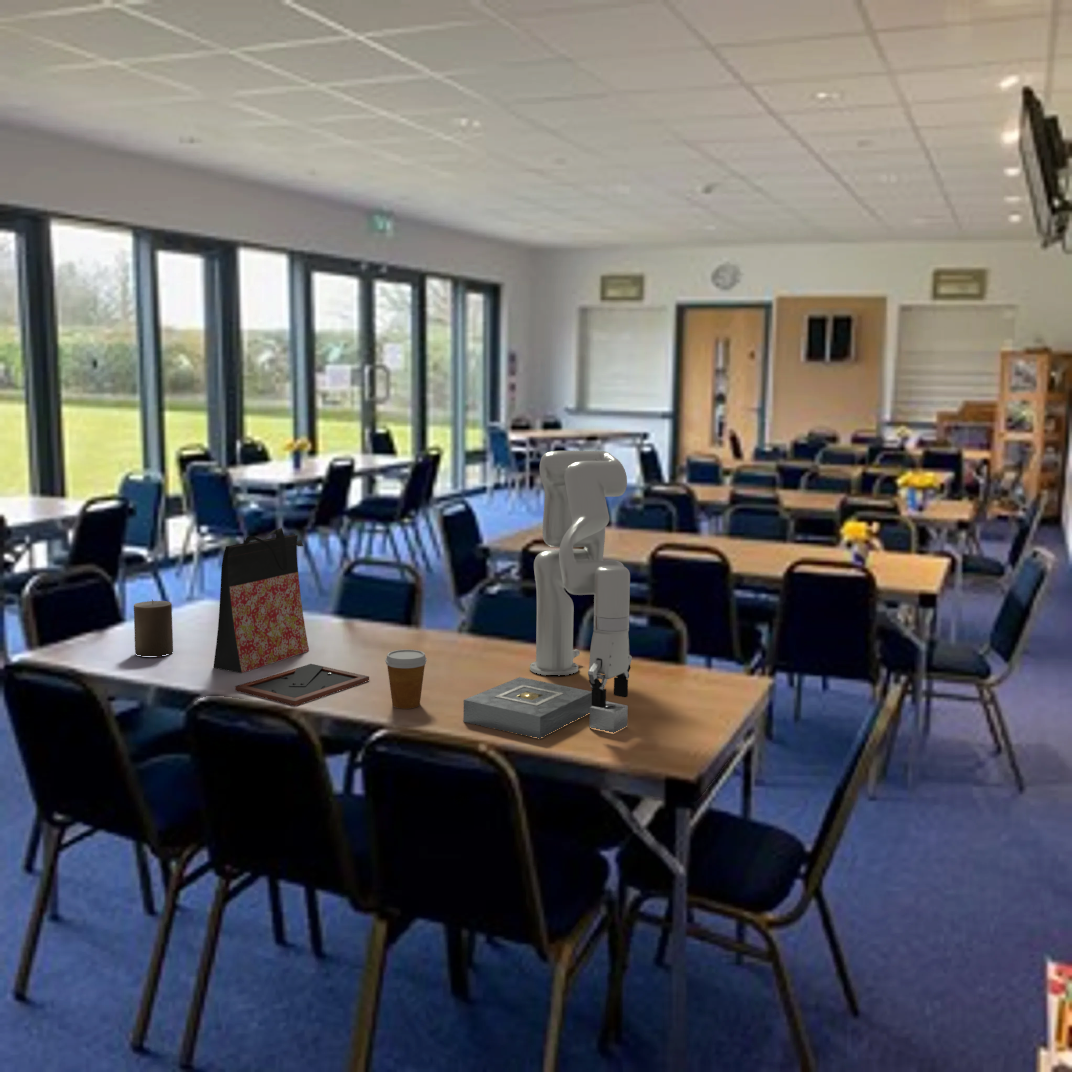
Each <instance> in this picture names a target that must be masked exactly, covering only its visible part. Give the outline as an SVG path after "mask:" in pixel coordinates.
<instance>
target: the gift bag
mask: <svg viewBox="0 0 1072 1072" xmlns="http://www.w3.org/2000/svg"><path fill="white" fill-rule="evenodd" d="M283 530H284V529H283V527H280V528H277V529H274V530H271V532H270V533H269V534H267V535H266V536H265V537H264V538H263V539H261V538H259V537H256V536H253V535H250V536H249V535H248V536H247V537H246V538H245V537H243V541H242V542H243V543H237V544H231V545H228V546H227V545H226V546H225V549H224V552H223V556H222V561H221V571H220V573H221V574H220V593H219V611H218V622H217V634H216V643H215V644H216V645H215V651H214V661H213V667H214V668H213V669H218V668H219V669H218V670H224V671H228V670H229V672H235V673H239V674H243V673H246V672H249V670H250V671H252V670H253V671H254V670H255V669H258V668H262V667H266V666H267V665H271V664H273V663H276V662H280V661H282V660H283V661H284V660H285V659H289V658H292V657H295V656H298V655H301V654H304V653H307V652H310V649H309V643H308V636H307V631H306V625H305V619H304V618H305V617H304V613H303V612H304V611H303V604H302V596H301V595H302V594H301V587H300V585H301V584H300V577H299V566H298V555H297V553H298V552H297V551H298V550H297V547H304V544H303V541H302V539H299V540H298V536H299V535H298V534H296V533H293V534H288V535H285V534H284V531H283ZM271 535H275V537H272V538H268V537H269V536H271ZM251 540H252V541H251ZM253 540H254V541H253Z"/></svg>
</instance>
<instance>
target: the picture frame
mask: <svg viewBox="0 0 1072 1072" xmlns="http://www.w3.org/2000/svg"><path fill="white" fill-rule="evenodd" d="M368 680H369V681H370V676H369V675H368V676H367V675H363V674H359V673H355V672H350V671H346V670H341V669H337V668H333V667H327V666H322V665H319V664H314V663H308V664H306V665H302V666H299V667H295V668H291V669H289V670H285V671H282V672H279V673H276V674H275V673H274V674H271V675H269V676H266V677H265V676H264V677H261V678H259V679H255V680H252V681H249V682H244V683H241V684H238V685H235V686H234V688H235V689H234V691H235V692H237V693H242V694H245V695H250V696H254V697H259V698H262V699H266V700H269V701H274V702H277V703H280V704H281V703H282V704H285V703H286V705H289V706H294V707H297V706H299V705H301V703H302V704H305V703H309V702H310V701H315V700H317V699H319V697H320V698H323V697H326V696H330V695H332V694H334V693H333V692H335V693H338V692H340V691H339V690H341V691H343V690H342V689H344V690H346V688H347V689H350V688H352V686H353V687H356V686H358V685H357V684H359V685H361V683H362V684H364V683H363V682H365V681H368ZM369 681H368V682H369ZM365 683H366V682H365ZM355 685H356V686H355ZM349 687H350V688H349ZM337 691H338V692H337ZM331 693H332V694H331ZM325 695H326V696H325ZM322 696H323V697H322ZM304 702H305V703H304Z"/></svg>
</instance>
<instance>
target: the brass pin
mask: <svg viewBox="0 0 1072 1072" xmlns="http://www.w3.org/2000/svg"><path fill="white" fill-rule="evenodd" d="M520 698H525V699H530V700H534V699H536V698H538V694H537V693H532V692H526V693H522V694H520Z"/></svg>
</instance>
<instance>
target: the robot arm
mask: <svg viewBox="0 0 1072 1072" xmlns="http://www.w3.org/2000/svg"><path fill="white" fill-rule="evenodd" d="M539 475H540V479H541V483H542V487H543V490H544V491H543V492H544V504H543V515H542V538H543V541H544V543H545V545H547V546H549V547H553V548H559V549H547V550H543V551H541V552H539V553H538V554H537V555H536V556H535V559H534V561H533V571H534V580H535V588H536V630H535V631H536V633H535V634H536V638H535V639H536V641H535V644H536V646H535V650H536V651H535V661H533V662H531V663H530V665H529V670H530V671H531V672H532V673H534V674H536V673H537V674H536V675H540V674H541V675H540V676H546V675H558V676H557V677H561V676H560V675H565V676H570V675H569V674H571V675H574V674H576V673H578V671H579V665H578V664H577V663H576V662H574V660H575V658H577V657H579V656H580V650H579V649H576V648H575V649H574V614H575V613H574V612H575V611H574V602H573V599H572V598H571V597H570V595H574V596H577V595H578V596H583V595H584V596H585V595H594V596H593V598H594V599H593V602H594V603H593V632H592V637H591V643H590V652H589V665H588V672H587V675H588V679H589V680H588V681H589V685H590V689H591V691H592V703H591V704H592V706H595V707H600V708H605V707H606V701H607V689H606V688H605V687H606V684H607V682H608V680H610V679H613V696H615V697H621V698H627V697H628V695H629V678H630V671H631V663H632V660H633V657H632V655H631V654H630V639H629V631H630V595H631V593H630V591H631V589H630V588H631V587H630V586H631V573H630V570H629V569H628V568H627V567H626V566H625V565H624V563H622V562H621V561H620V560H616V559H604V550H605V542H606V541H605V540H606V527H607V525H608V524H609V522H610V515H609V514H610V513H609V509H608V504H607V500H606V498H607V497H608V498H614V497H621V496H623V495H624V494H625V492H626V490H627V486H628V478H627V473H626V469H625V468H624V466H623V463H622V462H621V461H620V460H619V459H617V457H616V456H614V455H612V453H610V452H608V451H604V450H553V451H548V452H545V453H544V454H543V455H542V456H541V459H540V462H539ZM574 548H575V549H574ZM576 548H578V549H576ZM580 548H582V549H580ZM566 591H567V592H566ZM568 593H569V594H570V595H569V594H568ZM573 673H574V674H573Z"/></svg>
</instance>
